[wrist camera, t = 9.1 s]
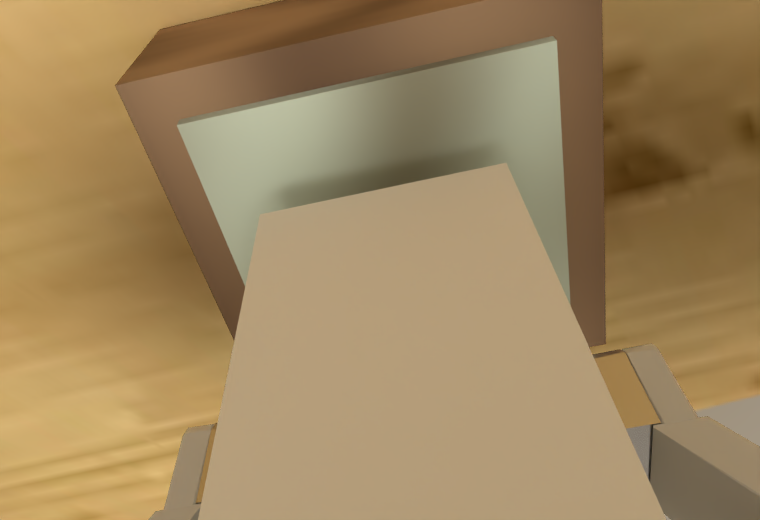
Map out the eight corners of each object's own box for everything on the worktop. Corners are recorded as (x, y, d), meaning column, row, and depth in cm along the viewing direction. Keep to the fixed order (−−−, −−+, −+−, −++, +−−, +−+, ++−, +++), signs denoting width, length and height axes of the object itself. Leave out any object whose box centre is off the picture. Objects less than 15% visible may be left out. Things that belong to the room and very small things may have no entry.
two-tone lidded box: (510, 157, 13) (749, 667, 5) (530, 348, 16) (701, 847, 8) (253, 211, 13) (134, 752, 6) (321, 387, 16) (301, 893, 9)
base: (548, -63, 16) (606, -24, 12) (566, 261, 22) (609, 351, 18) (160, 29, 17) (111, 91, 13) (276, 317, 22) (263, 414, 19)
